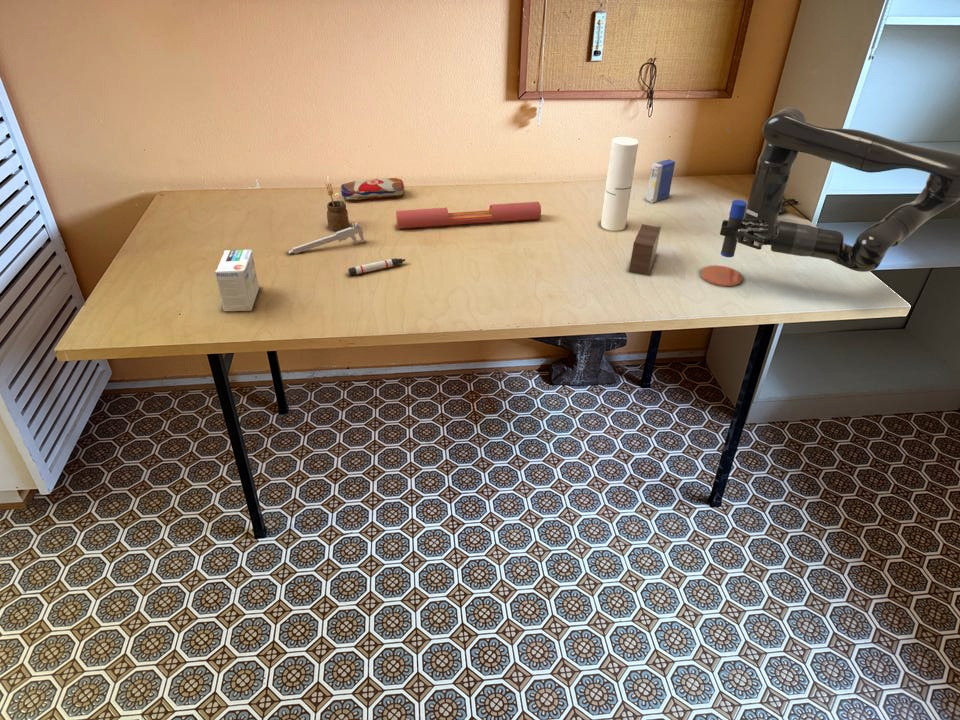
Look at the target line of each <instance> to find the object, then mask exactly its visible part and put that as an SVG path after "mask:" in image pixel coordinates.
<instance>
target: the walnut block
mask: <svg viewBox="0 0 960 720" xmlns="http://www.w3.org/2000/svg"><path fill="white" fill-rule="evenodd" d="M661 228H662V227H661V226H656V225H651V224H643V223H641V225H640V227H639V230H638V232H637V235H636V237H635V239H634V241H633V245H632V251H631V257H630V264H629V269H628V272H630V273H635V274H640V275H646V276H649V274H650V271H651V269H652V266H653V263H654V261H655V258H656V256H657V255H656V254H657V250H658V244H659V240H660V235H661V234H660V233H661Z"/></svg>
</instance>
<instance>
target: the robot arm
mask: <svg viewBox="0 0 960 720" xmlns="http://www.w3.org/2000/svg"><path fill="white" fill-rule="evenodd" d="M762 136H763V139H764V140H765V141H766V142H765V145H764V148H763V150H762V151H761V153H760V155H759V157H758V160H757V165H756V168H755V172H754V175H753V180H752V183H751V186H750V187H751V188H750V191H749V196H748V199H747V202H746V203H747V206H746V210H745V214H744V217H743V220H742V224H741V228H740V229H738V230H737V228H732V227H727V225H728V220H729V219H727V220H726V219H724V220H722V221H721V222H722V223H721V227H720V232H719V235H720V236H722V237H725V236H728V237H734V238H735V239H737V240H738V241H737V244H741V245H744V246H747V247H750V248H753V249H755V250H759V251H761V250H762V248H763V246H770V251H771V252H773V253H778V254H779V253H780V254H786V255H792V256H796V257H797V256H798V257H808V258H809V257H811V258H815V259H822V260H828V261H831V262H833V263H835V264H838V265H840V266H843V267H844V268H847V269H849V270H851V271H854V272H858V273H859V272H860V273H868V272H872V271H875V270H876V269H878V267H879V266H880V265H881V263H882V261H883V259H884V257H885V256H886V254H887V252H888V250H889V249H890V248H892V247H896V246H898V245H900V244H901V243H902V242H904V241H905V240H906V239H907V238H909V237H910V236H911V235H912V234H913V233H914V232H915V231H917V229H919V228H920V227H921V226H922V225H923V224H924V223H926V222H927V221H928V220H930V219H931V218H933V217H934V216H936V215H938V214H940V213H941V212H943V211H945V210H947V209H948V208H950V207H952V206H953V205H955V204H957V203H958V202H959V201H960V153H956V152H951V151H947V150H941V149H935V148H931V147H925V146H924V147H923V146H920V145H914V144H911V143H906V142H903V141H898V140H895V139H891V138H888V137H884V136H882V135H879V134H875V133H872V132H868V131H865V130H861V129H852V128H851V129H850V128H834V127H823V126H819V125H814V124H812V123H808V122H807V119H806V116H805V113H804V112H803V111H802V110H801V109H800V108H797V107H794V106H790V107H789V106H788V107H785V108H782V109H780V110H778V111H777V112H776V113H774V114H772V115H771V116H770V117H768V119H767V120H766V121H765V122H764V124H763V125H762ZM799 153H802V154H803V153H804V154H808V155H811V156H814V157H817V158H820V159H823V160H826V161H829V162H831V163H835V164H839V165H842V166H844V167H847V168H851V169H854V170H857V171H861V172H864V173H869V174H870V173H872V174H873V173H874V174H875V173H883V172H889V171H894V170H901V169H911V170H916V171H920V172H924V173H928V174H929V175H928V178H927V179H926V182H925V186H924V187H923V189H922V190H921V191H920V193H919V194H918V196H917V197H916V198H915V199H913V201H911V202H907V203H903V204H900V205H899V206H897V207H895V208H894V209H893V210H891V211H890V212H889V213H888V214H887V215H885V216H884V217H883V218H882V219H881V220H880V221H878V222H876V223H873V224H872V225H870V226H868V227H867V228H865V229H864V230H862V231H861V232H860V234H858V236H857V237H856V239H855V241H854V242H853V243H854V244H853V245H850V244H847V243H846V242H844V241H845V238H844V237H845V236H844V234H843V232H841V231H840V230H835V229H828V228H822V227H816V226H813V225H810V224H805V223H804V224H803V223H798V222H791V221H786V220H779V221H778V217H779V216H781V215H783V214H785V213H786V212H787V208H786V207H785V206H784V205H785V204H786V203H794V204H796V205H797V204H799V201H798V200H797V201H795V199H796V198H787V199H785V200H784V197H785V194H786V191H787V187H788V183H789V180H790V177H791V172H792V169H793V166H794V164H795V162H796V160H797V158H798V155H799Z"/></svg>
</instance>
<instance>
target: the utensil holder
mask: <svg viewBox="0 0 960 720" xmlns="http://www.w3.org/2000/svg"><path fill="white" fill-rule="evenodd" d="M325 186H326V191H327V195H328V196H330V199H331V201H329V202H328V203H327V204H326V205H327V206H326V209H327V210H326V219H327V227H328V229H330V230H332V231H335V232H338V231H341V230H344V229H346V228H349V227H350V219H349V212H348V209H347V205H346V202H344V201H343V199H344V198H343V196H341V192H336V193H335V194H334V190H333V187H332V182H330V183H325ZM333 195H334V197H336V200H334V197H333ZM337 195H338V196H339V198H338V197H337ZM339 199H341V200H339Z"/></svg>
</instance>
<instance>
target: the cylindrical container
mask: <svg viewBox="0 0 960 720" xmlns="http://www.w3.org/2000/svg"><path fill="white" fill-rule="evenodd" d="M638 148H639V140H638V139H636V138H634V137H631V136H615V137H613V138H612V139H611V144H610V151H609V152H610V153H609V158H608V159H609V160H608V167H607V175H606V182H605V183H606V184H605V190H604V197H603V205H602V212H601V220H600V226H601V227H602V228H603V229H605V230H607V231H612V232H613V231H614V232H618V231H619V232H620V231H622V230H625V228H626V225H627V219H628V212H629V206H630V199H631V193H632V186H633V181H634V174H635V166H636V163H637V161H636V160H637V154H638Z"/></svg>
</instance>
